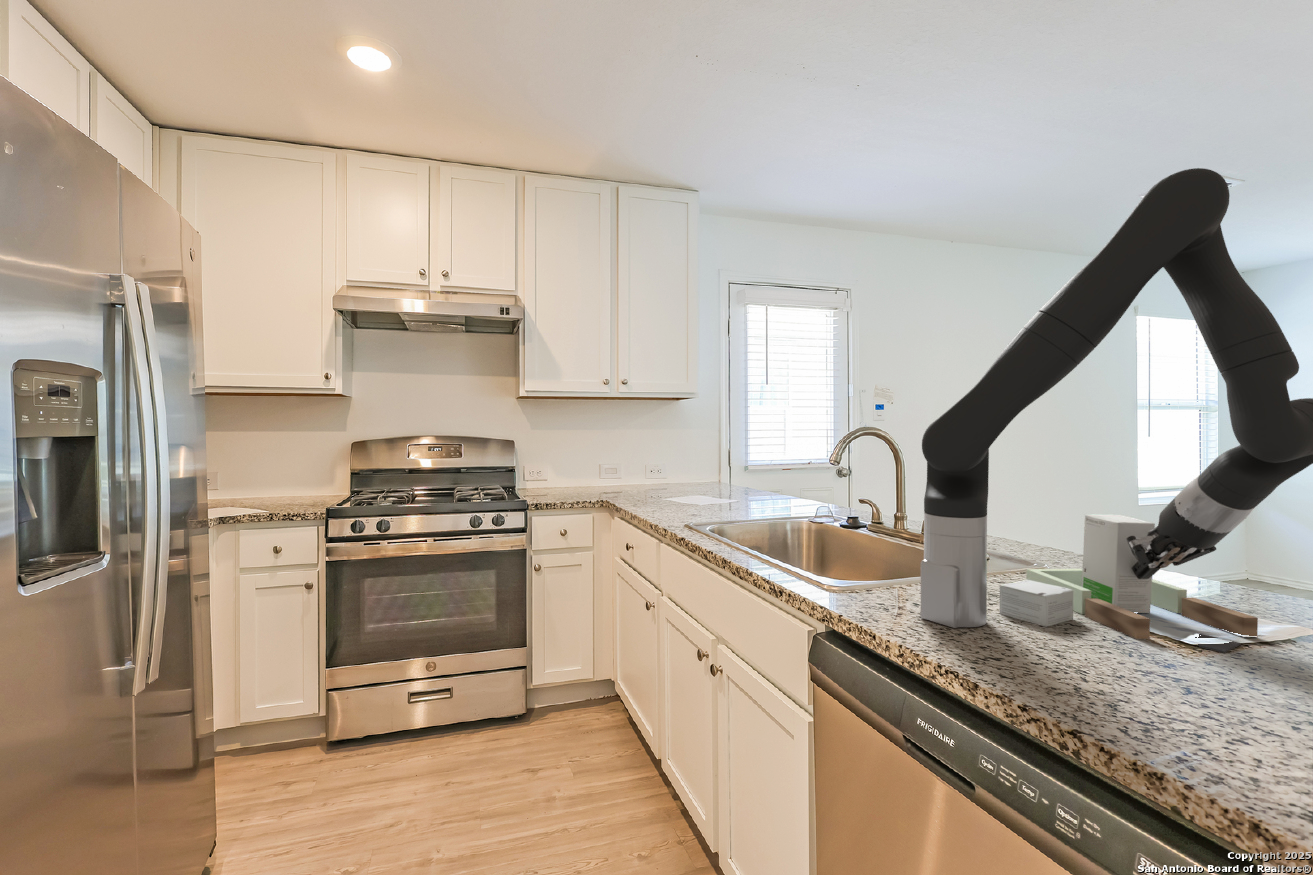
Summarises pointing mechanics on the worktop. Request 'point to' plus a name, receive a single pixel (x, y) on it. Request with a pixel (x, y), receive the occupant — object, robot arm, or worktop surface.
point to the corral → (1072, 579)
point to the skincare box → (1114, 561)
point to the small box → (1036, 602)
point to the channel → (1191, 608)
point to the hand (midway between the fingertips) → (1139, 574)
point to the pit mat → (1218, 645)
